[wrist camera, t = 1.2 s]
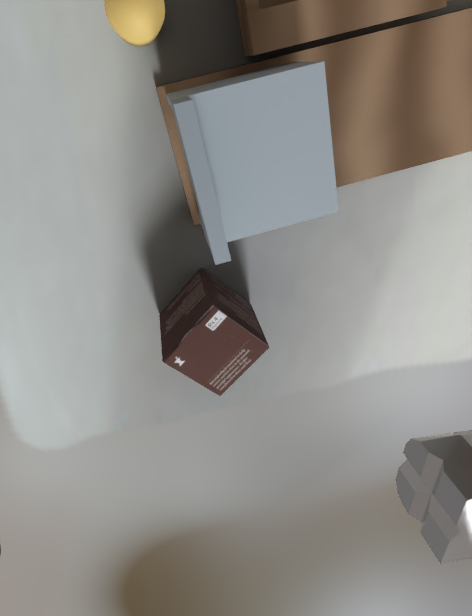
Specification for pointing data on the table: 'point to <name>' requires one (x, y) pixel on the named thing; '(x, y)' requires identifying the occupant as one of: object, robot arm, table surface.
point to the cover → (258, 151)
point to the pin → (136, 19)
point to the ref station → (378, 97)
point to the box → (210, 333)
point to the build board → (316, 19)
